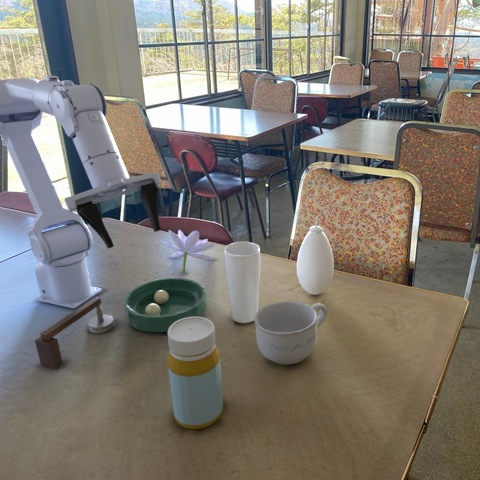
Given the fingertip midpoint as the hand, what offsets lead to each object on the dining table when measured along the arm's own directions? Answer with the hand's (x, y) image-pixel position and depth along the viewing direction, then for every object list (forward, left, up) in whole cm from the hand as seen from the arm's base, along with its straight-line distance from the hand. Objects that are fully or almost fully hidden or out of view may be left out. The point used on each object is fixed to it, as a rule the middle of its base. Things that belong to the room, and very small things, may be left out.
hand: (135, 238), depth 77 cm
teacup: (+25, +7, -21) cm, 33 cm away
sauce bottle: (+22, +28, -21) cm, 41 cm away
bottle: (+17, -12, -21) cm, 29 cm away
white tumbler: (+12, +14, -21) cm, 28 cm away
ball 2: (-6, +12, -19) cm, 23 cm away
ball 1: (-4, +7, -19) cm, 21 cm away
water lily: (-10, +31, -21) cm, 39 cm away
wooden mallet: (-12, -3, -21) cm, 24 cm away
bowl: (-3, +10, -21) cm, 24 cm away
